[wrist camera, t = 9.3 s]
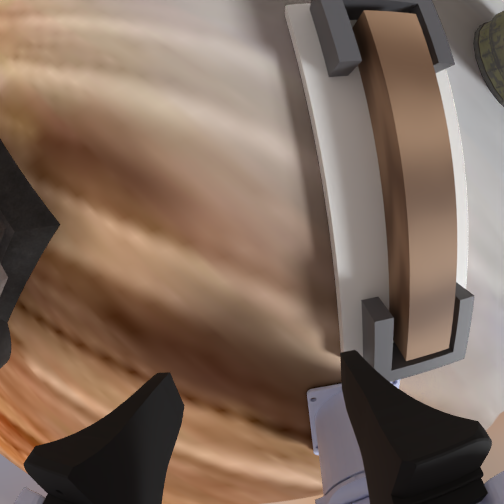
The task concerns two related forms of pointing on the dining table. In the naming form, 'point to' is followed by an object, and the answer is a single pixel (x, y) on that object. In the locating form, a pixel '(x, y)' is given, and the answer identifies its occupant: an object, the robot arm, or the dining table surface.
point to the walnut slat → (412, 178)
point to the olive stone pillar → (491, 54)
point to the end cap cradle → (370, 177)
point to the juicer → (18, 239)
